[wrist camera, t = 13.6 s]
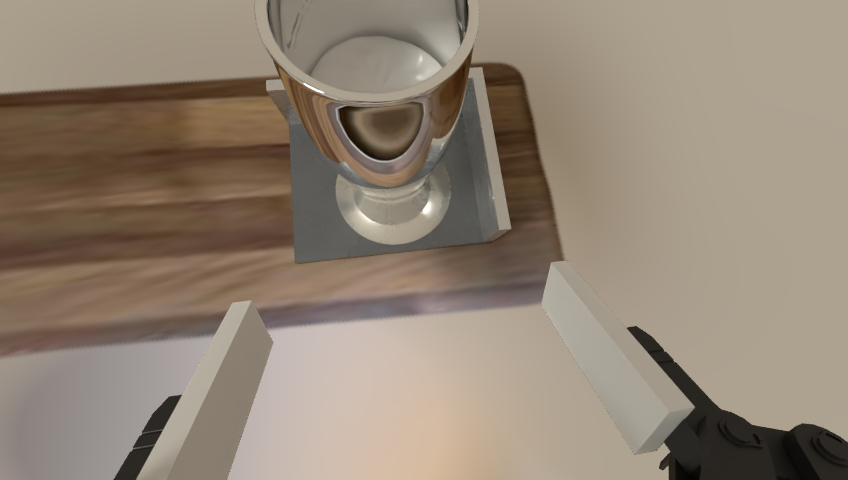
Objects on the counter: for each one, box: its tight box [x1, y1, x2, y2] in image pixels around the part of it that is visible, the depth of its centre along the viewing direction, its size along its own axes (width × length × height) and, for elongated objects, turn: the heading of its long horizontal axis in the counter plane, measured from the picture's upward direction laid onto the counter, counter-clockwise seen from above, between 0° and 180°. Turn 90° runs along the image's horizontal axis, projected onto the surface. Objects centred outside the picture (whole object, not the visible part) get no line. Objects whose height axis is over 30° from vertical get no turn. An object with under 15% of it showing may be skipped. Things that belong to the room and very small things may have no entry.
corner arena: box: [266, 67, 511, 264], centre depth 22 cm, size 15×12×5 cm
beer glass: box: [255, 0, 479, 226], centre depth 16 cm, size 7×7×15 cm
